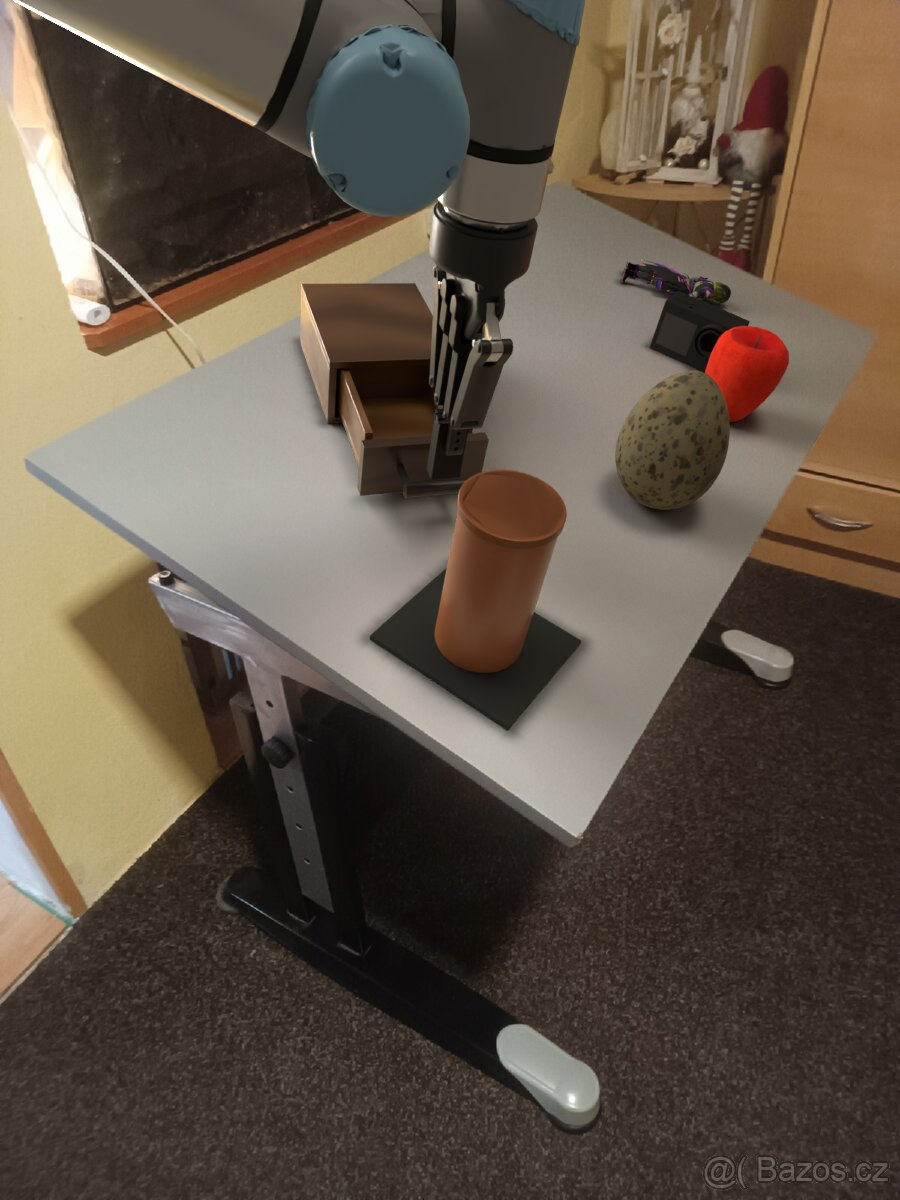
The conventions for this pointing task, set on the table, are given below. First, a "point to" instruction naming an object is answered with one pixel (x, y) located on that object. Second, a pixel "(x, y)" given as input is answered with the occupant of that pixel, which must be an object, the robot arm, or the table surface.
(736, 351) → the apple
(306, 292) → the cabinet
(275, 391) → the table surface
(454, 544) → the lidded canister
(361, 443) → the drawer
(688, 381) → the decorative egg
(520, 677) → the mat
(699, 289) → the character figure
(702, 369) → the digital camera
